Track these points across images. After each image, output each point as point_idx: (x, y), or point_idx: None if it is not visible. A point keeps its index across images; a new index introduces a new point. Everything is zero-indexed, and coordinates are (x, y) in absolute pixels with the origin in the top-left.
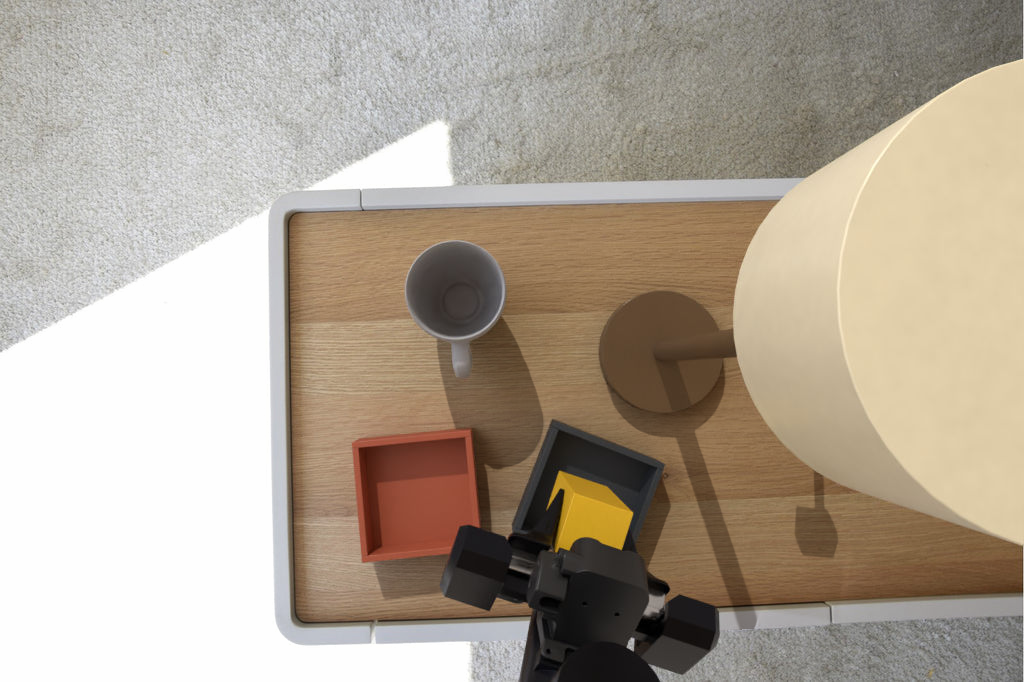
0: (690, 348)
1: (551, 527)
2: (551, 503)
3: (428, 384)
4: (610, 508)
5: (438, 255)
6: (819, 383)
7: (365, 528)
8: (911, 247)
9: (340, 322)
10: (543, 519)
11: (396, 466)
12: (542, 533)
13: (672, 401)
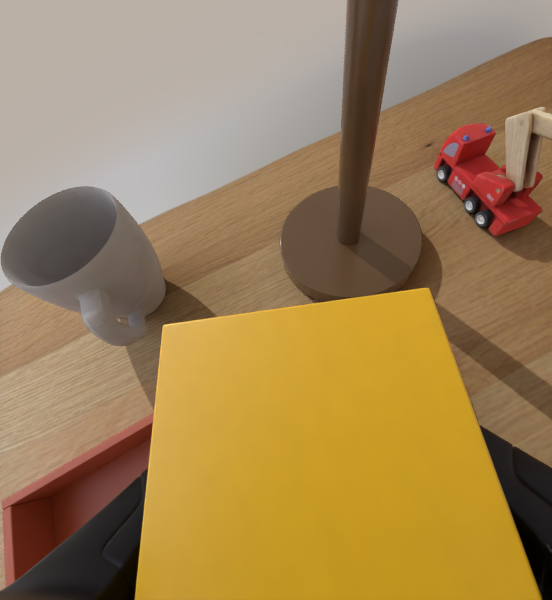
0: (347, 85)
1: (140, 522)
2: None
3: (122, 387)
4: (324, 312)
5: (70, 236)
6: None
7: None
8: None
9: (26, 365)
10: (120, 499)
11: (93, 511)
12: (61, 582)
13: (388, 273)
